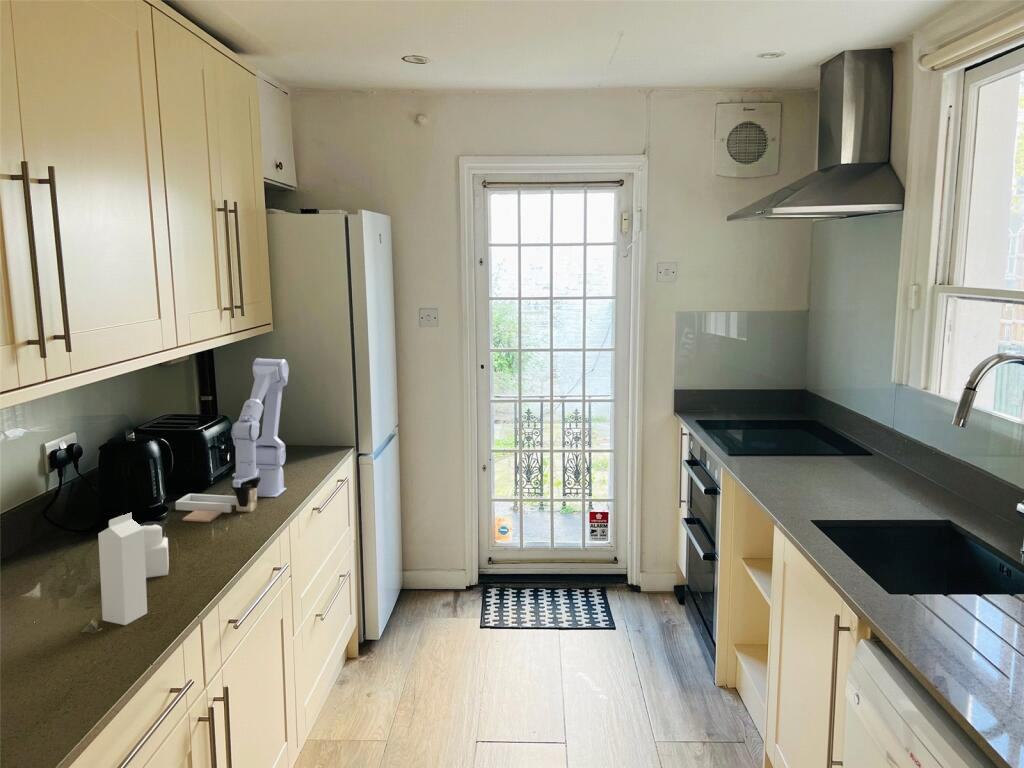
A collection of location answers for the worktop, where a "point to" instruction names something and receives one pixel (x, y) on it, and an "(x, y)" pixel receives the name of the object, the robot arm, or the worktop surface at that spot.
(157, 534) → the medicine bottle
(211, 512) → the coaster
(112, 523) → the milk
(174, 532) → the worktop surface
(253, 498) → the beech block
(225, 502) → the channel
